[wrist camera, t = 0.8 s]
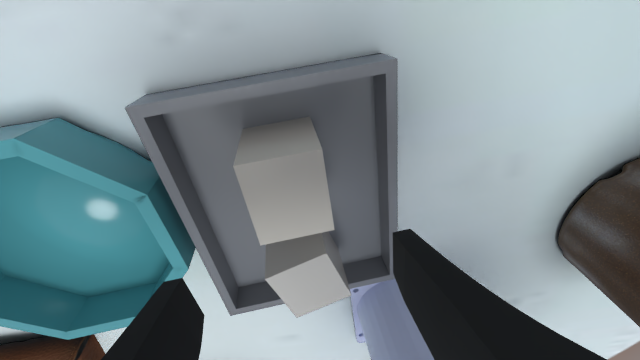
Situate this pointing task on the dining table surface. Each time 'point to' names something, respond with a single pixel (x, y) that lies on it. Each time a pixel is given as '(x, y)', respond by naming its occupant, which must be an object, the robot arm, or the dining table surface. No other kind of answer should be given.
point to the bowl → (81, 231)
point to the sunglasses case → (53, 349)
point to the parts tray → (266, 108)
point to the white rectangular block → (284, 180)
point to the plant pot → (608, 238)
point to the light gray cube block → (306, 272)
